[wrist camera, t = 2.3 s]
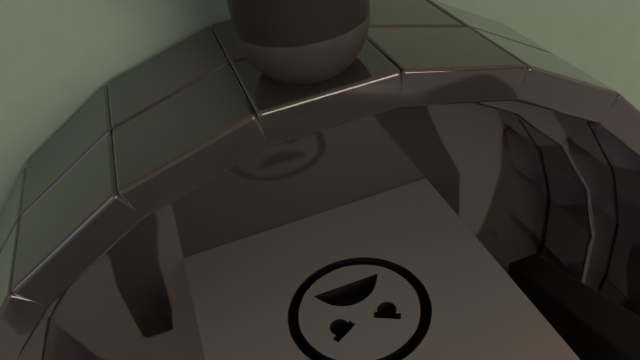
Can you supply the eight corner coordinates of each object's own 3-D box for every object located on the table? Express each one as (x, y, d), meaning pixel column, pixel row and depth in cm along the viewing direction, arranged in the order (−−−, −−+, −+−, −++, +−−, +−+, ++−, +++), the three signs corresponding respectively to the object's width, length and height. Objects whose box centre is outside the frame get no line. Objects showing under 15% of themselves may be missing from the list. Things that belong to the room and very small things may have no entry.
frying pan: (550, 361, 18) (624, 453, 16) (126, 535, 16) (134, 675, 14) (628, -94, 10) (804, -49, 8) (-215, 127, 8) (-350, 293, 5)
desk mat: (784, 284, 21) (795, 292, 21) (78, 580, 16) (78, 595, 16) (1110, -350, 10) (1143, -354, 10) (-557, -7, 6) (-589, 5, 6)
